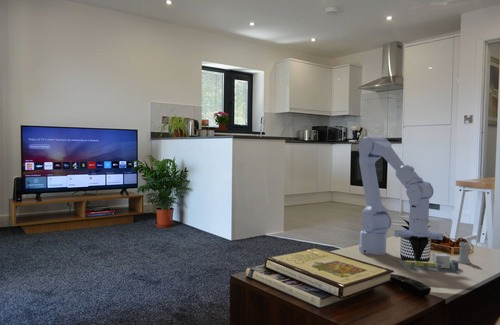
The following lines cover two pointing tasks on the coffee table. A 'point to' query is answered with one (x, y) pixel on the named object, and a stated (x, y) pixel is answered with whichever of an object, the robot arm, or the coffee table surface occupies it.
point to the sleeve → (441, 260)
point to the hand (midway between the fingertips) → (417, 259)
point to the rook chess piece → (463, 253)
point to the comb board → (429, 266)
